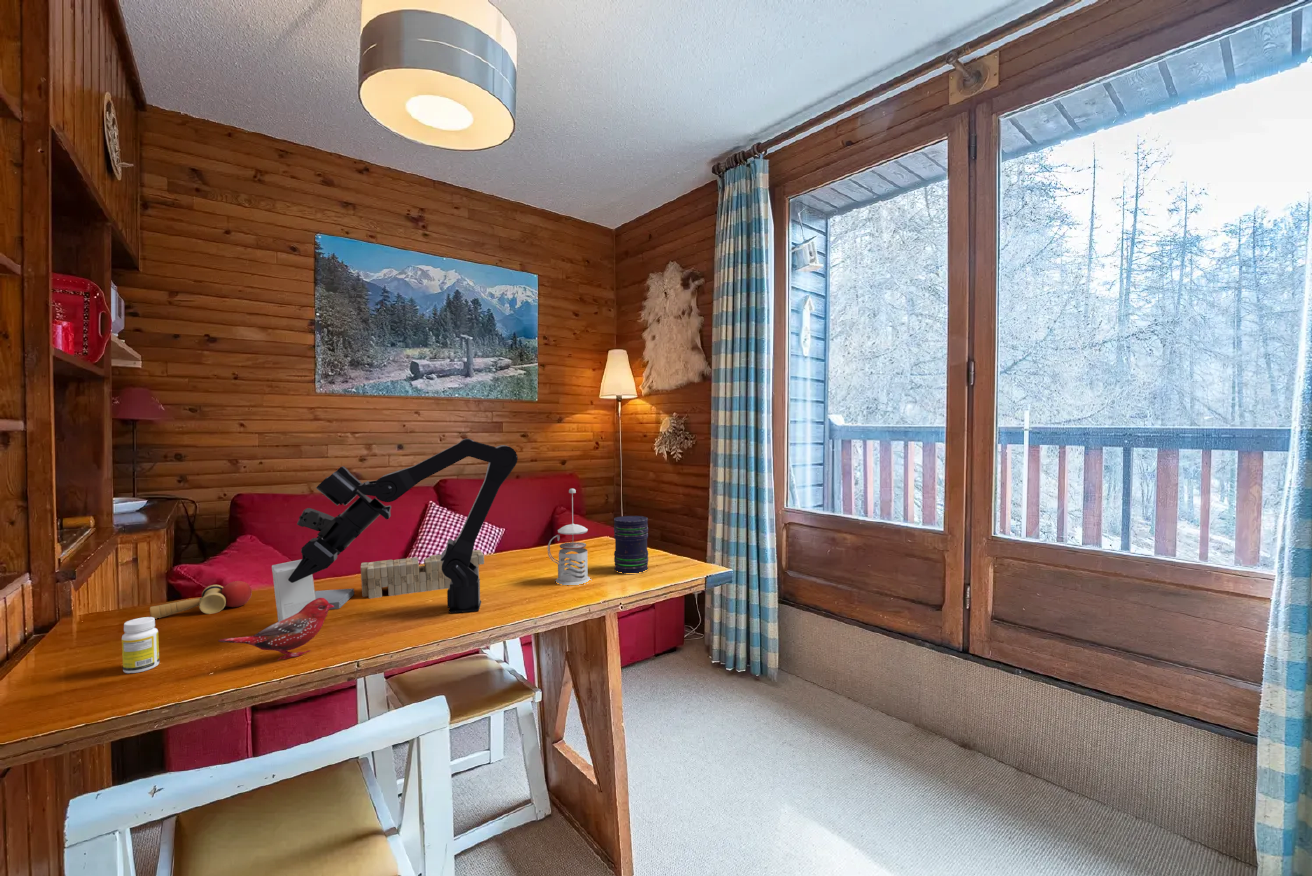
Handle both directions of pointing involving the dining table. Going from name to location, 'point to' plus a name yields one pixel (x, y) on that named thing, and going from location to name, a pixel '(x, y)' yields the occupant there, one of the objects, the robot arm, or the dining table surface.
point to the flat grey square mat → (335, 596)
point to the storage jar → (631, 544)
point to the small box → (291, 590)
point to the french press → (571, 555)
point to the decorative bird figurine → (290, 630)
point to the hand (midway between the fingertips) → (296, 575)
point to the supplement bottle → (140, 645)
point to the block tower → (407, 575)
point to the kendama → (208, 600)
